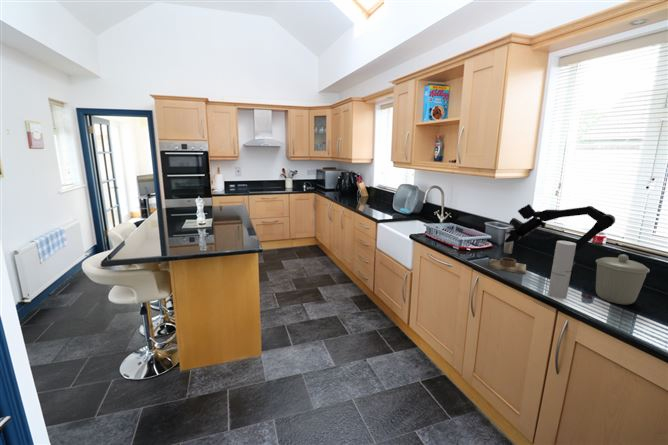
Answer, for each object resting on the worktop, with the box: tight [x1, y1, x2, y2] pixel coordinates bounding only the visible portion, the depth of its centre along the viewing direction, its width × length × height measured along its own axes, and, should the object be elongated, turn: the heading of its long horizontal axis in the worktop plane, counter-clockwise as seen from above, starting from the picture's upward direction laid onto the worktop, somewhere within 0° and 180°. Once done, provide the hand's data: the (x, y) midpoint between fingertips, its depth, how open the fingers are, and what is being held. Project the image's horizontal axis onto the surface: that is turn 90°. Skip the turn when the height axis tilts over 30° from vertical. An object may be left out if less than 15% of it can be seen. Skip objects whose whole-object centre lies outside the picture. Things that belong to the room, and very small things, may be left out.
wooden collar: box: [499, 257, 517, 267], centre depth 186 cm, size 8×8×3 cm
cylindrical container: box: [547, 240, 576, 300], centre depth 148 cm, size 7×7×25 cm
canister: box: [595, 254, 650, 305], centre depth 145 cm, size 18×18×21 cm
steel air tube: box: [502, 227, 514, 254], centre depth 191 cm, size 5×5×14 cm
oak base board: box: [488, 258, 527, 275], centre depth 187 cm, size 18×14×2 cm
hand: (506, 241), depth 192 cm, fingers closed on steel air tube, 4 cm apart
